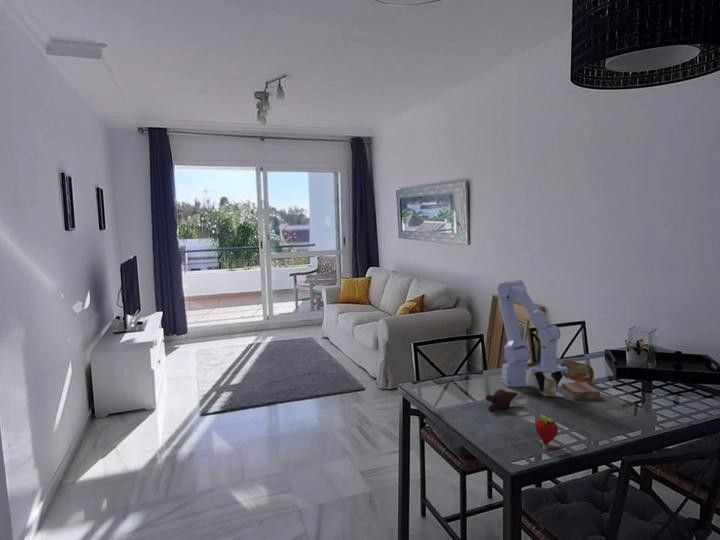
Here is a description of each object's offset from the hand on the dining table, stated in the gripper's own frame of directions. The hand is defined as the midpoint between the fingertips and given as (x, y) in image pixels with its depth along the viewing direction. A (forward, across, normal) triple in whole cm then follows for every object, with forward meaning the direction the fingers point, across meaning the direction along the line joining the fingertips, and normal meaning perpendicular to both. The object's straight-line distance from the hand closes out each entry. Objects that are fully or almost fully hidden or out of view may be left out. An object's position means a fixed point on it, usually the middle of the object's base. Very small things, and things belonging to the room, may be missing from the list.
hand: (547, 390), depth 183 cm
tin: (+2, +20, +16) cm, 26 cm away
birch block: (+1, 0, 0) cm, 1 cm away
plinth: (+2, +13, 0) cm, 13 cm away
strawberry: (+2, -18, -39) cm, 43 cm away
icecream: (+2, -21, -10) cm, 24 cm away
